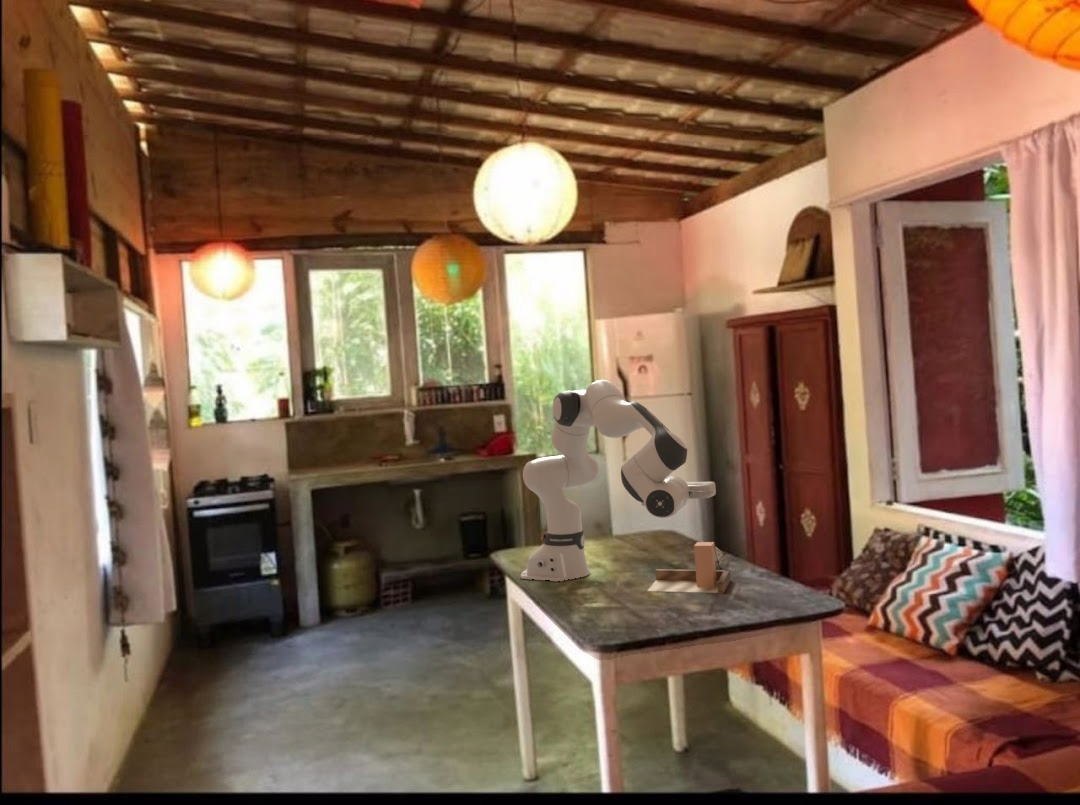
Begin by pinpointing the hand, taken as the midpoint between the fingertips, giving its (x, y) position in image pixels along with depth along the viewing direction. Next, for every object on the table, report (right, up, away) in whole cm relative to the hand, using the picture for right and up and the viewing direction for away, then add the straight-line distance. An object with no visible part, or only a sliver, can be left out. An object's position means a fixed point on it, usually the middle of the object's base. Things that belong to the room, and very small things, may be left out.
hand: (682, 485), depth 236 cm
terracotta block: (+9, -30, +12) cm, 34 cm away
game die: (+15, -30, +34) cm, 48 cm away
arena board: (+4, -31, +12) cm, 34 cm away
